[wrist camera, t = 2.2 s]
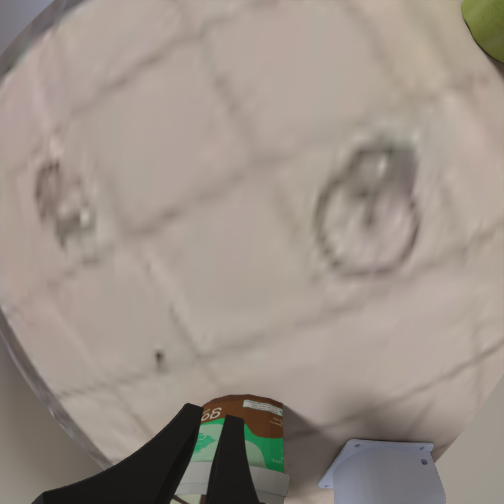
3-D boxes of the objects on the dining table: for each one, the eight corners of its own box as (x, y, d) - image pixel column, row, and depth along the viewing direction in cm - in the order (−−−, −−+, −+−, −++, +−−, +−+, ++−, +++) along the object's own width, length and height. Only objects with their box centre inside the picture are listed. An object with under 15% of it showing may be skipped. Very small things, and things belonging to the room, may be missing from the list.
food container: (221, 353, 21) (178, 460, 12) (293, 391, 22) (289, 503, 12) (162, 436, 25) (123, 516, 15) (219, 464, 25) (196, 547, 15)
